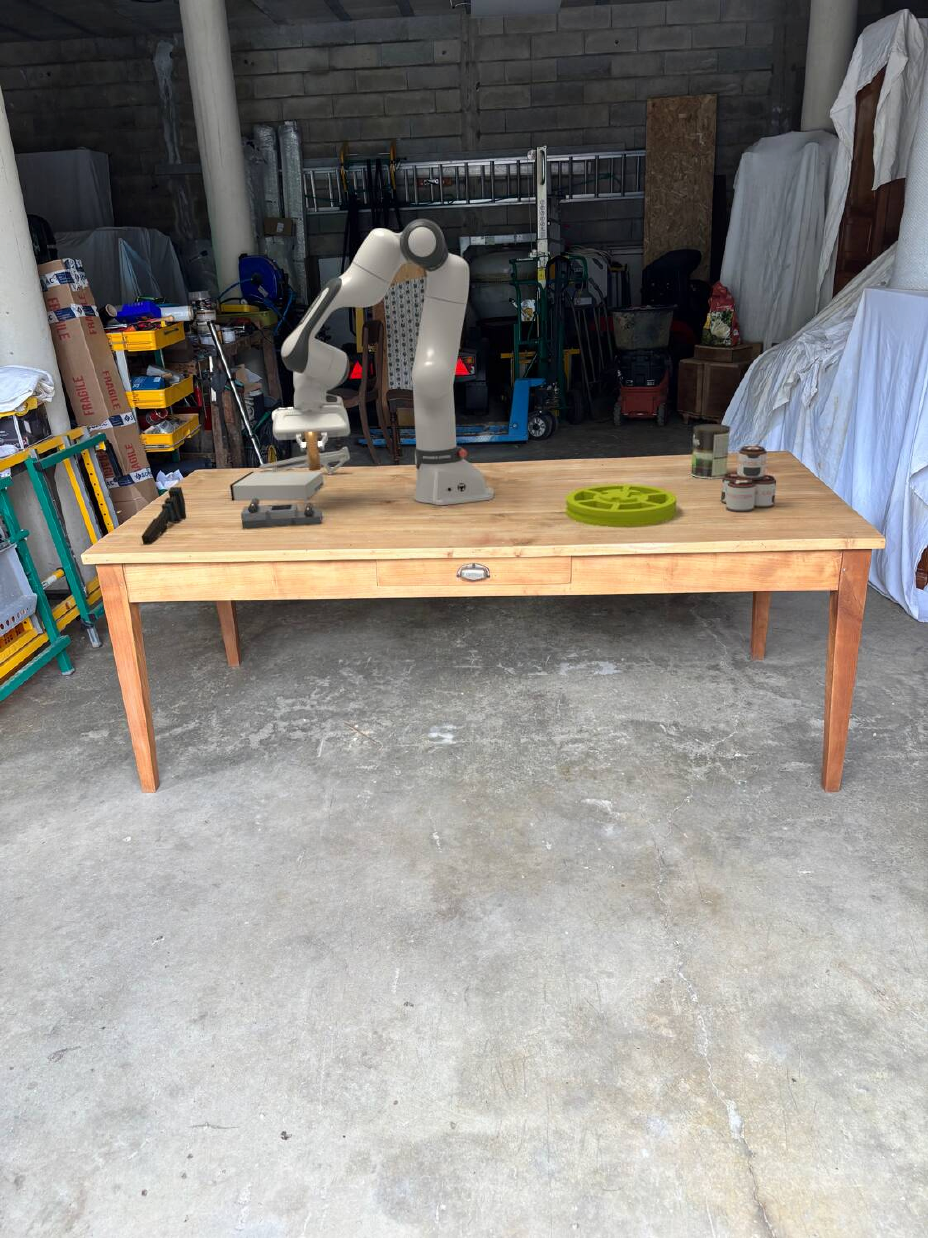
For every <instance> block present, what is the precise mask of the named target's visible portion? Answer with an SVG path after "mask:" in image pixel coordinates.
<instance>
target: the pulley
mask: <svg viewBox="0 0 928 1238" xmlns="http://www.w3.org/2000/svg"><path fill="white" fill-rule="evenodd" d="M565 505H566V507H565V514H566V516H567V517H568V518H570V520H573V521H575V520H576V521H575V522H578V523H581V522H582V523H581V524H586V525H592V526H597V525H599V527H606V526H608V528H609V527H610V528H630V527H633V528H634V527H644V526H652V525H656V524H661V523H664V522H667V521H669V520H671V519H673V518H674V517H675V516H676V515H677V514H676V513H677V508H676V505H677V496H676V495H675V494H674V493H673V492H671V491H670V490H666V489H664V488H660V487H655V486H649V485H641V484H602V485H594V486H588V487H583V488H580V489H575V490H573V491H571V492H570V493H567V495H566V498H565ZM666 520H667V521H666ZM663 521H664V522H663ZM660 522H661V523H660Z"/></svg>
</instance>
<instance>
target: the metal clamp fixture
mask: <svg viewBox="0 0 928 1238" xmlns="http://www.w3.org/2000/svg"><path fill="white" fill-rule="evenodd" d="M250 501H251V502H250V504H249V505H248V506H244V507H243V509H242V511H241V513H240V517H241V518H240V519H241V526H242V530H244V528H249V529H262V528H263V527H264V528H275V526H279V527H288V526H287V525H295V526H308V525H321V524H322V521H323V509H322V508H317V509H316V508H315V505H314V503H313V502H311V501H310V502H309V501H308V502H307V503H306V505H305V509H299V508H298V503H297V502H295V503H294V502H293V503H281V504H279V503H278V504H264V505H260V500H258V499H257V498H254V499H253V500H250ZM314 508H315V509H314ZM298 509H299V510H298ZM273 526H274V527H273ZM261 527H262V528H261Z"/></svg>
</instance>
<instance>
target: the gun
mask: <svg viewBox="0 0 928 1238" xmlns="http://www.w3.org/2000/svg"><path fill="white" fill-rule="evenodd" d="M319 456H320V466H321V469H323V468H325V469H326V470H327V473H328V474H329V473H331V474H333V473H334V472H336V471H337V470H339V469H340V468H341V467H342V466H344V465H343V464H344V463H346V462H347V461H349V460H350V459H351V456H350V453H349V448H348V447H347V446H344V447H342V448H341V449H340V450H337V451H331V452H323V453H321V452H319ZM338 461H339V462H338ZM333 462H338V463H337V464H336V465H334V466H333V467H331V466H330V464H329V463H333ZM274 467H275V468H274ZM292 468H300V469H304V468H308V459H307V454H306V455H301V456H295V457H291V458H289V459H284V460H277V461H274V462H269V463H262V464H260V466H259V467H258V470H259V469H261V471H259V473H263V472H282V471H284V470H286V472H289V471H293V470H294V469H292ZM262 469H263V470H262ZM268 469H273V470H268Z"/></svg>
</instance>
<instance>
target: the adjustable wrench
mask: <svg viewBox="0 0 928 1238" xmlns="http://www.w3.org/2000/svg"><path fill="white" fill-rule="evenodd" d="M167 493H168V495H169V497H166V498H165V499H164V503H163V504H161V509H162V510H161V511H160V513H159V514H158V515H157V517H156V518H153V519H152V521H151V522H150V524H149V525H148V526H147V527H146V529H145V531H143V533H142V535H141V540H142V543H143V545H152V544H153V543H154V542H155V541H156V539H157V538H158V536H159V535H160V534H161V533H163V532H165V531H166V530H167V528H168V524H169V523H181V522H182V520H183V519H184V520H185V519H187V512H186V510H187V509H186V503H185V502H186V500H185V497H184V493H183V488H182V486H172V487H170V488H169V490H168V492H167ZM180 521H181V522H180Z"/></svg>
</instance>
